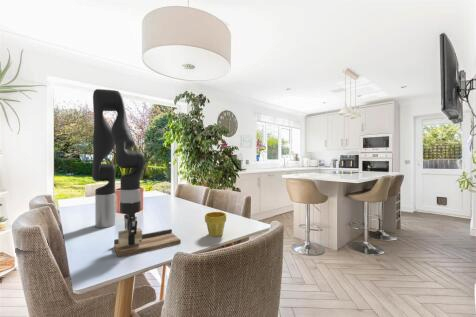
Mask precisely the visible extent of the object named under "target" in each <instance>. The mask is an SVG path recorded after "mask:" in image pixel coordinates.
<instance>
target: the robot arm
mask: <svg viewBox="0 0 476 317" xmlns="http://www.w3.org/2000/svg"><path fill="white" fill-rule="evenodd" d="M124 102H125V101H124V98H123V95H122V94H121V92H120V91H119V90H114V89H101V88H98V89H97V88H96V89H95V90H94V91H93V94H92V104H93V105H92V106H93V107H92V108H93V135H92V136H93V139H92V140H93V145H92V146H93V148H92V149H93V150H92V151H93V159H92V165H91V166H92V169H91V178H92V180H93V181H94V182H107V183H106V184H105V185H103V186H100V187H98V188H96V189H95V193H94V194H95V195H94V196H95V198H94V199H95V202H94V203H95V206H94V207H95V210H94V211H95V222H94V223H95V228H97V229H99V228H100V229H103V228H109V227H112V226H115V225H116V176H117V175H116V173H117V171H116V170H117V169H116V166H117V167H118V168H120V169H131V170H130V172H129V173H125V174H122V175H121V176H120V191H119V213H120V214H122V215H123V217H124V218H123V220H124V230H128V244H129V245H134V244H135V235H136V234H137V228H138V220H137V219H138V218H137V216H136V213H140V211H141V209H142V208H141V204H142V203H141V202H142V201H141V196H142V195H141V176H142V171H143V168H144V167H145V166H144V165H145V156H144V153H143V152H142V151H140V150H129V149H132V148H133V147H134V145H135V141H134V138H133V135H132V134H131V130H130V128H129V124H128V119H127V113H126V108H125V103H124ZM104 112H116V114H117V115H116V117H115V120H114V122H113V124H112V126H110V125H109V123H108V122H107V120H106V118H105V117H104ZM114 149H115V150H114ZM113 150H114V151H115V156H114V158H115V160H114V161H115V164H116V165H115V164H114V163H102V162H103V160H105V158H106V157H107V156H109V155H110V154H111V152H112V151H113ZM132 230H133V232H131V231H132Z"/></svg>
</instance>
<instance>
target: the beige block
mask: <svg viewBox="0 0 476 317" xmlns="http://www.w3.org/2000/svg"><path fill="white" fill-rule="evenodd" d="M131 232H133V230H132V231H131ZM117 234H118V235H117V237H118V238H117V239H118V244H119V246H120V247H124V246H129V244H128V230H126V229H124V230H120V231H118V233H117ZM142 234H143V230H142V229H141V228H140V227H137V234H136V235H135V244H138V243H142Z"/></svg>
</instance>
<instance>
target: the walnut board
mask: <svg viewBox="0 0 476 317" xmlns="http://www.w3.org/2000/svg"><path fill="white" fill-rule="evenodd" d="M181 241H182V240H181V239H180V238H179V237H178V236H177V235H175V233H173V229H171V228H170V229H164V230H158V231H154V232H148V233H142V243H138V244H134V245H129V246H124V247H120V246H119V244H118V238H116V239H114V240H113V242H114V243H113V248H114V249H115V252H117V253H116V255H117V257H118V258H123V257H127V256H132V255H136V253H137V254H141V253H144V252H148V251H153V250H157V249H161V248H166V247H170V246H174V245H175V246H176V245H178V244H181V243H182V242H181ZM140 252H141V253H140Z"/></svg>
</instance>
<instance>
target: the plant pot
mask: <svg viewBox="0 0 476 317" xmlns="http://www.w3.org/2000/svg"><path fill="white" fill-rule="evenodd" d="M204 222H205V223H206V226H207V231H208V236H210V237H220V236H222V235H223V234H224V228H225V223H226V222H227V214H226V213H225V212H223V211H211V212H207V213H205V214H204Z"/></svg>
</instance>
